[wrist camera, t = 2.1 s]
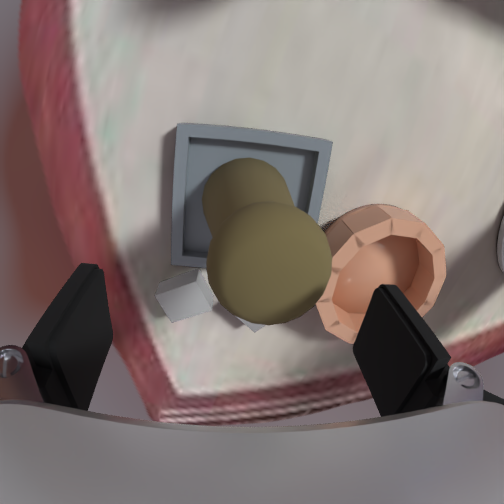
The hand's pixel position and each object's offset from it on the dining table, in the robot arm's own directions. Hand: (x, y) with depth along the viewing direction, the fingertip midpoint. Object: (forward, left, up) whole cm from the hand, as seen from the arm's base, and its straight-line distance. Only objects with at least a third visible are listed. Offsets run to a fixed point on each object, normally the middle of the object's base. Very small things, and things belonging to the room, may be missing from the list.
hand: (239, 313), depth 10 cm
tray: (-1, 0, -13) cm, 13 cm away
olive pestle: (-1, 0, -13) cm, 13 cm away
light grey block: (+3, +8, -14) cm, 16 cm away
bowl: (-12, +4, -13) cm, 18 cm away
